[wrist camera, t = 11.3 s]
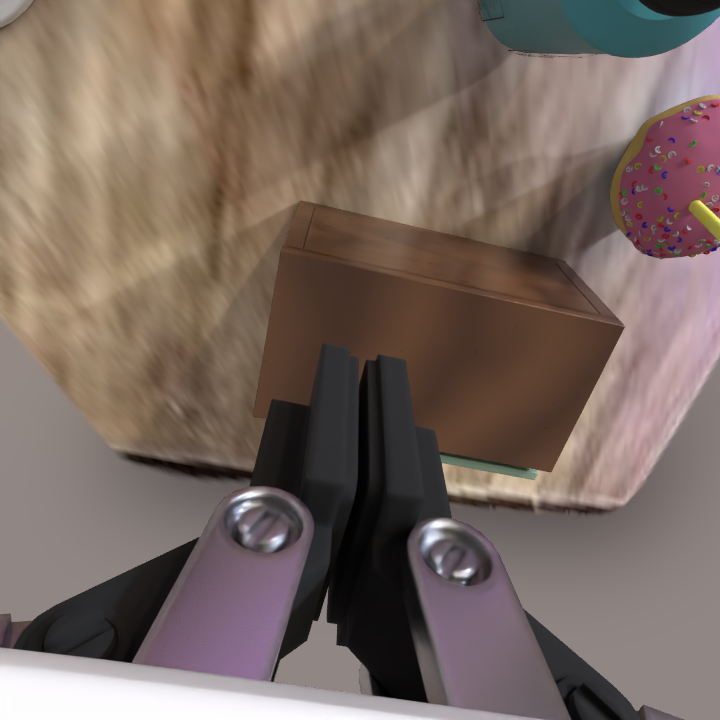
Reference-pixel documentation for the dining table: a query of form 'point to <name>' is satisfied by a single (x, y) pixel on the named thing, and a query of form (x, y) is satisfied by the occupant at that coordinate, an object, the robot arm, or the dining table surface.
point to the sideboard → (441, 330)
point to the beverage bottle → (597, 25)
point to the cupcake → (672, 182)
